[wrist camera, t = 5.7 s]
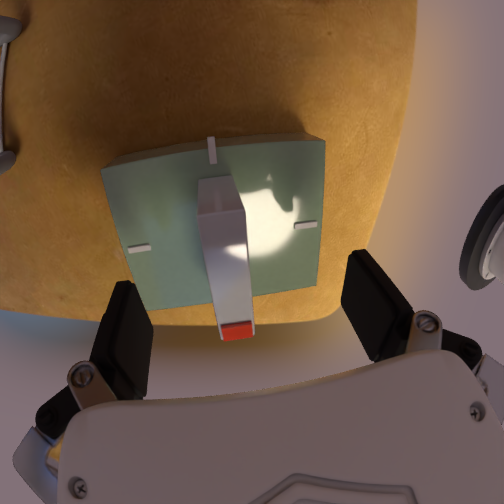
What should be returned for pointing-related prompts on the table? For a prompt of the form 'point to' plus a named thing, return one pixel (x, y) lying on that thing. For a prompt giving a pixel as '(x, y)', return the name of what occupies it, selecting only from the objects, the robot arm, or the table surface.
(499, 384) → the robot arm
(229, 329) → the tap handle
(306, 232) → the panel
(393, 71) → the table surface
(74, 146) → the table surface
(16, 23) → the newton's cradle
